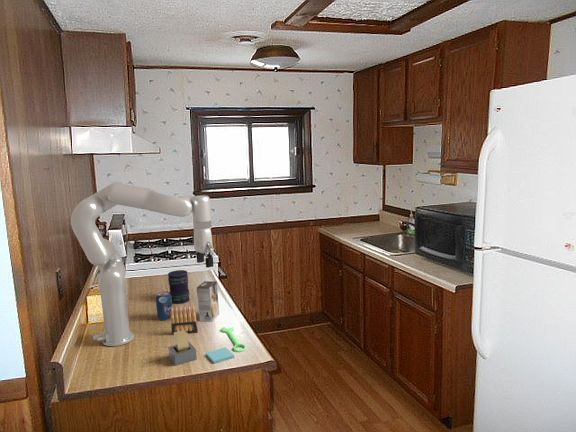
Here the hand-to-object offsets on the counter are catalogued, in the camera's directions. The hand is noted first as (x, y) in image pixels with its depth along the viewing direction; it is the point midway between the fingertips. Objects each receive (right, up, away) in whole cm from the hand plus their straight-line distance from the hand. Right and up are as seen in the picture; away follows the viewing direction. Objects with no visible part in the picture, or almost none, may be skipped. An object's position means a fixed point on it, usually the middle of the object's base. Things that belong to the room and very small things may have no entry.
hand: (205, 264), depth 191 cm
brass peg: (-4, -32, -24) cm, 40 cm away
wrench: (+13, -30, -9) cm, 34 cm away
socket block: (-4, -32, -24) cm, 40 cm away
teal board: (+10, -32, -24) cm, 41 cm away
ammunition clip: (-8, -29, -1) cm, 30 cm away
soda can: (-21, -27, +17) cm, 38 cm away
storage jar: (-20, -23, +39) cm, 50 cm away
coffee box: (-1, -26, +15) cm, 30 cm away
